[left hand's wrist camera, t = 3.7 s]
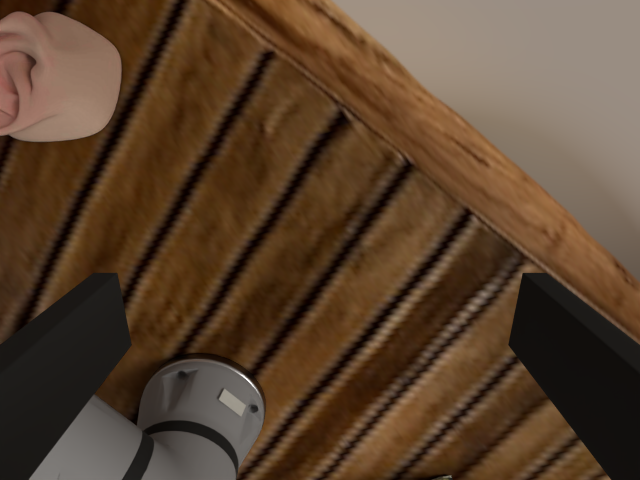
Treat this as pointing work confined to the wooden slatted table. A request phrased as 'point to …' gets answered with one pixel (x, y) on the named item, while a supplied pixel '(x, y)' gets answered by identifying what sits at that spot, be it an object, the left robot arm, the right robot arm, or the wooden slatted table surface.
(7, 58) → the anatomical model
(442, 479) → the fossil
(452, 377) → the wooden slatted table surface
